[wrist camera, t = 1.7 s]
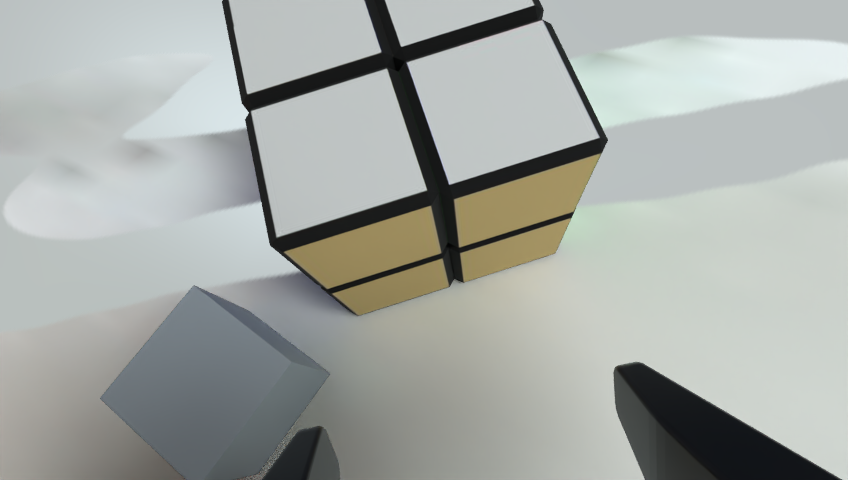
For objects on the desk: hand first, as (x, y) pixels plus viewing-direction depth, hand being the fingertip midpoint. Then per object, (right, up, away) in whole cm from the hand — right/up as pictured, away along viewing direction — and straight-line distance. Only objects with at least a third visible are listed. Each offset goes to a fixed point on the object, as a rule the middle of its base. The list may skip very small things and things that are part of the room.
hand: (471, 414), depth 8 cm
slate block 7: (-8, -4, +14) cm, 17 cm away
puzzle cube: (-1, +5, +17) cm, 17 cm away
